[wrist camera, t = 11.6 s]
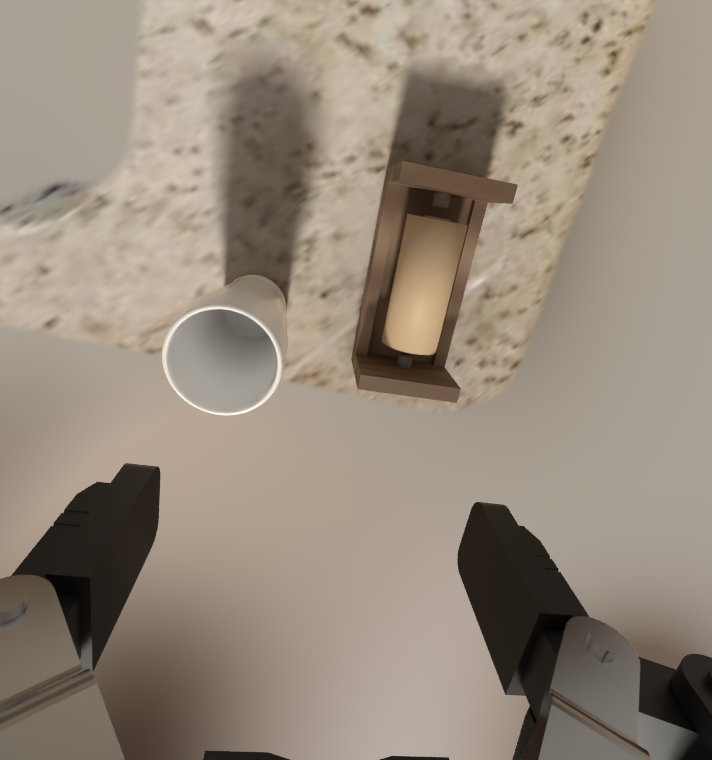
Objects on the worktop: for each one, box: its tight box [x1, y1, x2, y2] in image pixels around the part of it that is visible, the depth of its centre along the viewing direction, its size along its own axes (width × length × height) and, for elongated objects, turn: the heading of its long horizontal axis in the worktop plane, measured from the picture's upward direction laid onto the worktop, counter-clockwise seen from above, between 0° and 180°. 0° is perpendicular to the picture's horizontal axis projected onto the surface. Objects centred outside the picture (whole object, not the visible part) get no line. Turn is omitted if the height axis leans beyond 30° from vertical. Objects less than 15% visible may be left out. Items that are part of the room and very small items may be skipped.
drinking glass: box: [162, 275, 288, 415], centre depth 33 cm, size 7×7×15 cm
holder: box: [351, 161, 518, 403], centre depth 37 cm, size 16×8×7 cm, turn 170°
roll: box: [382, 214, 468, 355], centre depth 37 cm, size 10×5×5 cm, turn 170°
